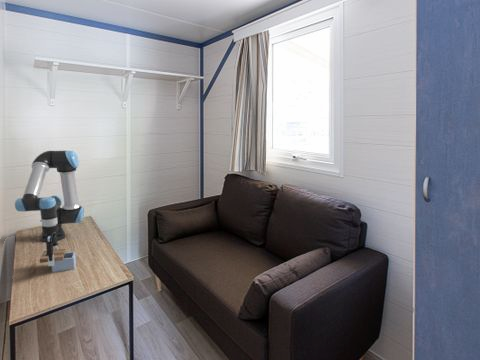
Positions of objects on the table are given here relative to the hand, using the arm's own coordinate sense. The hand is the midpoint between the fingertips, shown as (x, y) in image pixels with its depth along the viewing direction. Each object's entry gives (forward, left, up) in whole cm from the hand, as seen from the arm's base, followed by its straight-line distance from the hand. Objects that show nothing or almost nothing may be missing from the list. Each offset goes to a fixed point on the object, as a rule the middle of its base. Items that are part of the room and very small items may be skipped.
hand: (53, 261), depth 171 cm
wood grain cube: (0, 0, +2) cm, 2 cm away
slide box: (0, +5, -5) cm, 7 cm away
